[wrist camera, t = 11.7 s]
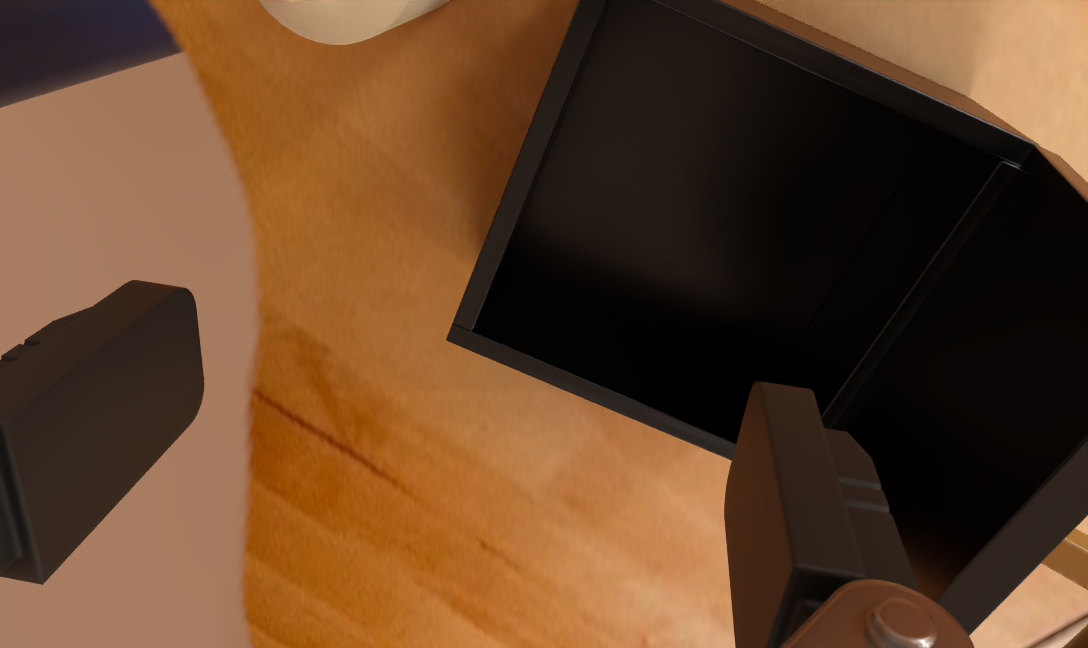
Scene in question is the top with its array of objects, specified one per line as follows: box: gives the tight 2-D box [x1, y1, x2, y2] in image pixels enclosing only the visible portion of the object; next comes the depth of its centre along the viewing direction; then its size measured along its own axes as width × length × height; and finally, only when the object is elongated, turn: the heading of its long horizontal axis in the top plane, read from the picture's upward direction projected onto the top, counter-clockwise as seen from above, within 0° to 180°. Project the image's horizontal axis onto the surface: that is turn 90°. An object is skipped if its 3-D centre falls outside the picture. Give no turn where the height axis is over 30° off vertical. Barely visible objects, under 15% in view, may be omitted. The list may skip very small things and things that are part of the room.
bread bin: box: [446, 0, 1040, 460], centre depth 31 cm, size 15×15×7 cm
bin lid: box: [832, 146, 1088, 648], centre depth 21 cm, size 16×15×5 cm
